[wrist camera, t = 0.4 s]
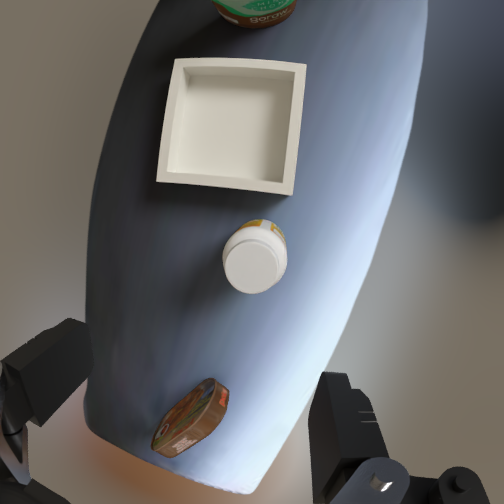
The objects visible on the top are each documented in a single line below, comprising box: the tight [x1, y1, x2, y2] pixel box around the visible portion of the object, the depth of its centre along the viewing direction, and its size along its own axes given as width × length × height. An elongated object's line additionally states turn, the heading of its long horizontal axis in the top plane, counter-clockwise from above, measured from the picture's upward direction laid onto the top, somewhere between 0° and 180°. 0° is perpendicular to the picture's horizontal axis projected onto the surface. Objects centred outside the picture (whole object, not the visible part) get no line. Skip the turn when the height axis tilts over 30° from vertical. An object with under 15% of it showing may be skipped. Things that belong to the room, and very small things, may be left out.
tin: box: [151, 378, 229, 458], centre depth 32 cm, size 15×3×8 cm, turn 139°
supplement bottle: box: [223, 219, 287, 294], centre depth 26 cm, size 5×5×10 cm
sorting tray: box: [156, 58, 306, 195], centre depth 27 cm, size 13×13×4 cm
